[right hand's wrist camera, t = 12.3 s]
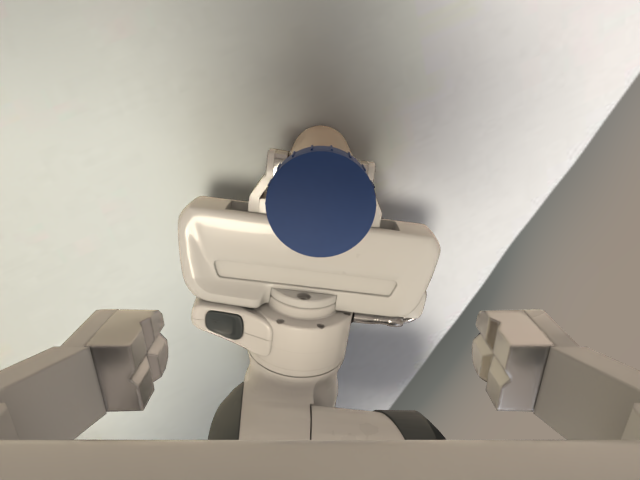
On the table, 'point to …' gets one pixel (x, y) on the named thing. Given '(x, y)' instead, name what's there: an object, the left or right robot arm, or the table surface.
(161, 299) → the table surface
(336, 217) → the lid
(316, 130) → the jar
